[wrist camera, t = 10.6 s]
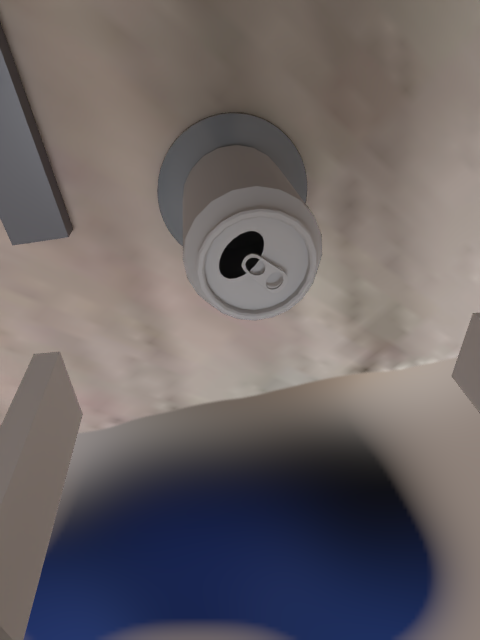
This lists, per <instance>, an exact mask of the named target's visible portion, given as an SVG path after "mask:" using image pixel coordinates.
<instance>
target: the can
mask: <svg viewBox="0 0 480 640" xmlns="http://www.w3.org/2000/svg"><path fill="white" fill-rule="evenodd" d="M321 257H322V234H321V232H320V229H319V227H318V224H317V222H316V219H315V217H314V215H313V213H312V212H311V211H310V209H309V208H308V207H307V205H306V204H305V203H304V201H303V200H302V199H301V197H300V196H299V195H298V193H297V192H296V191H295V189H294V188H293V186H292V185H291V184H290V182H289V181H288V180H287V178H286V177H285V176H284V174H283V173H282V172H281V170H280V169H279V168H278V167H277V165H276V164H275V163H274V162H273V161H272V160H271V159H270V158H269V157H268V156H267V155H265V154H264V153H262V152H260V151H258V150H256V149H255V148H252V147H246V146H240V145H232V146H226V147H221V148H217V149H216V150H214V151H212V152H210V153H208V154H206V155H205V156H203V157H202V158H201V159H200V160H199V161H198V162H197V164H196V165H195V166H194V167H193V168H192V169H191V171H190V173H189V175H188V178H187V180H186V182H185V184H184V193H183V261H184V266H185V270H186V274H187V278H188V280H189V281H190V283H191V285H192V286H193V288H194V289H195V291H196V292H197V294H198V295H199V296H200V297H202V298H203V299H204V300H205V301H207V302H208V303H209V304H210V305H212V306H213V307H215V308H216V309H218V310H219V311H220V312H221V313H224V314H226V315H229V316H232V317H234V318H237V319H245V320H260V319H266V318H271V317H274V316H277V315H279V314H281V313H283V312H285V311H287V310H289V309H291V308H292V307H293V306H294V305H295V304H297V303H298V302H299V301H300V300H301V299H303V297H304V296H305V294H306V293H307V292H308V290H309V289H310V287H311V286H312V284H313V282H314V278H315V275H316V273H317V270H318V267H319V263H320V260H321Z"/></svg>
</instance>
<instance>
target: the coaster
mask: <svg viewBox="0 0 480 640" xmlns="http://www.w3.org/2000/svg"><path fill="white" fill-rule="evenodd" d="M232 145H240V146H246V147H252V148H255V149H256V150H258V151H260V152H262V153H264V154H265V155H267V156H268V157H269V158H270V159H271V160H272V161H273V162H274V163H275V164H276V165H277V167H278V168H279V169H280V170H281V172H282V173H283V174H284V176H285V177H286V178H287V180H288V181H289V182H290V184H291V185H292V186H293V188H294V189H295V191H296V192H297V193H298V195H299V196H300V197H301V199H302V200H303V201H304V203H306V196H307V178H306V172H305V168H304V164H303V161H302V159H301V156H300V154H299V152H298V151H297V149H296V147H295V146H294V144H293V143H292V142H291V140H290V139H289V138H288V137H287V136H286V135H285V134H284V133H283V132H282V131H281V130H280V129H279V128H277V127H276V126H274V125H273V124H272V123H270V122H268V121H266V120H264V119H262V118H259V117H256V116H253V115H249V114H244V113H222V114H217V115H213V116H210V117H207V118H205V119H202V120H200V121H198V122H197V123H195V124H193V125H192V126H190V127H189V128H188V129H186V130H185V131H184V132H183V133H182V134H181V135H180V136H179V137H178V138H177V139H176V140H175V141H174V143H173V144H172V146H171V147H170V148H169V150H168V152H167V154H166V156H165V158H164V160H163V163H162V166H161V169H160V174H159V179H158V203H159V208H160V212H161V215H162V218H163V220H164V222H165V224H166V226H167V228H168V230H169V231H170V233H171V234H172V236H173V237H174V238H175V239H176V240H177V241H178V243H180V244H181V245H182V246H183V193H184V184H185V182H186V180H187V178H188V175H189V173H190V171H191V169H192V168H193V167H194V166H195V165H196V164H197V162H198V161H199V160H200V159H201V158H202V157H203V156H205V155H206V154H208V153H210V152H212V151H214V150H216V149H217V148H221V147H226V146H232Z"/></svg>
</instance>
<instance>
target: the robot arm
mask: <svg viewBox="0 0 480 640" xmlns="http://www.w3.org/2000/svg"><path fill="white" fill-rule="evenodd" d="M452 378H453V379H454V380H455V381H456V383H457V384H458V385H459V387H460V388H461V389H462V390H463V392H464V393H465V395H466V396H467V397H468V398H469V400H470V401H471V402H472V404H473V405H474V406H475V408H476V409H477V410H478V412H479V413H480V313H473V315H472V318H471V320H470V323H469V326H468V329H467V332H466V335H465V338H464V341H463V344H462V347H461V350H460V353H459V355H458V358H457V361H456V364H455V368H454V370H453V373H452ZM82 415H83V414H82V411H81V408H80V406H79V403H78V400H77V397H76V395H75V392H74V389H73V386H72V384H71V381H70V378H69V375H68V373H67V370H66V367H65V364H64V362H63V359H62V356H61V353H60V352H51V353H41V354H34V355H33V357H32V360H31V362H30V364H29V366H28V368H27V370H26V373H25V375H24V377H23V379H22V381H21V383H20V386H19V388H18V390H17V392H16V394H15V397H14V399H13V401H12V403H11V405H10V407H9V410H8V412H7V414H6V416H5V418H4V420H3V423H2V425H1V427H0V640H23V638H24V635H25V631H26V627H27V623H28V620H29V616H30V612H31V608H32V604H33V600H34V597H35V593H36V589H37V585H38V581H39V578H40V574H41V570H42V566H43V562H44V559H45V555H46V551H47V547H48V544H49V540H50V536H51V532H52V528H53V525H54V520H55V517H56V513H57V509H58V506H59V502H60V498H61V494H62V490H63V487H64V483H65V479H66V475H67V471H68V468H69V464H70V460H71V456H72V453H73V449H74V445H75V441H76V437H77V434H78V430H79V426H80V422H81V418H82Z"/></svg>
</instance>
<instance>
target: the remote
mask: <svg viewBox="0 0 480 640" xmlns="http://www.w3.org/2000/svg"><path fill="white" fill-rule="evenodd" d="M0 219H1V221H2V223H3V225H4V227H5V230H6V232H7V234H8V236H9V239H10V241H11V243H12V245H18V244H25V243H31V242H38V241H45V240H52V239H59V238H65V237H69V235H70V234H71V232H72V230H73V227H72V224H71V222H70V219H69V216H68V213H67V210H66V207H65V205H64V202H63V199H62V196H61V193H60V190H59V188H58V185H57V182H56V179H55V176H54V173H53V171H52V168H51V165H50V162H49V159H48V156H47V153H46V151H45V148H44V145H43V142H42V139H41V136H40V134H39V131H38V128H37V125H36V122H35V119H34V117H33V114H32V111H31V108H30V105H29V102H28V100H27V97H26V94H25V91H24V88H23V85H22V83H21V80H20V77H19V74H18V71H17V68H16V66H15V63H14V60H13V57H12V54H11V51H10V49H9V46H8V43H7V40H6V37H5V34H4V31H3V29H2V26H1V23H0Z"/></svg>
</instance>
